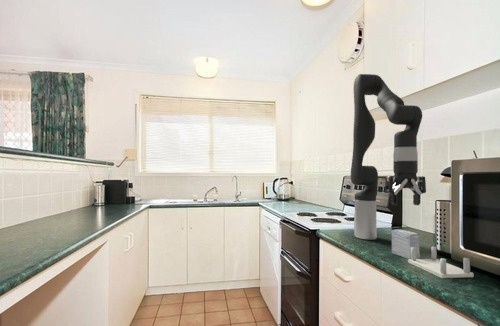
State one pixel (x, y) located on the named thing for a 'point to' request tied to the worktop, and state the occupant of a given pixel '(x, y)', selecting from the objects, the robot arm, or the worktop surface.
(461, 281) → the worktop surface
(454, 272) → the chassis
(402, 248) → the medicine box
